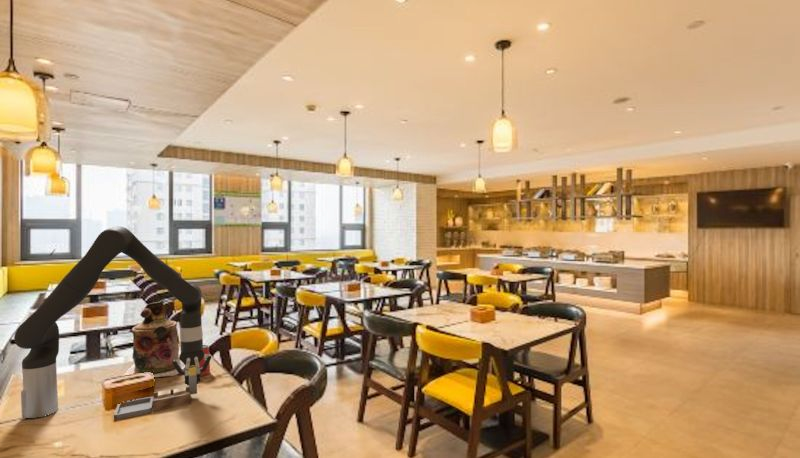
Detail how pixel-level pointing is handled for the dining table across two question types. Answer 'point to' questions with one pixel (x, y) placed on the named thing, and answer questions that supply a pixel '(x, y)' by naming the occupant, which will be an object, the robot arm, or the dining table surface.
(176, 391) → the chip
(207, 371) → the beer can
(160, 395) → the chip
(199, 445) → the dining table surface
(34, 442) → the dining table surface
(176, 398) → the slot block
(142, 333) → the cookie jar
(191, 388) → the scraper
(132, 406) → the tray
